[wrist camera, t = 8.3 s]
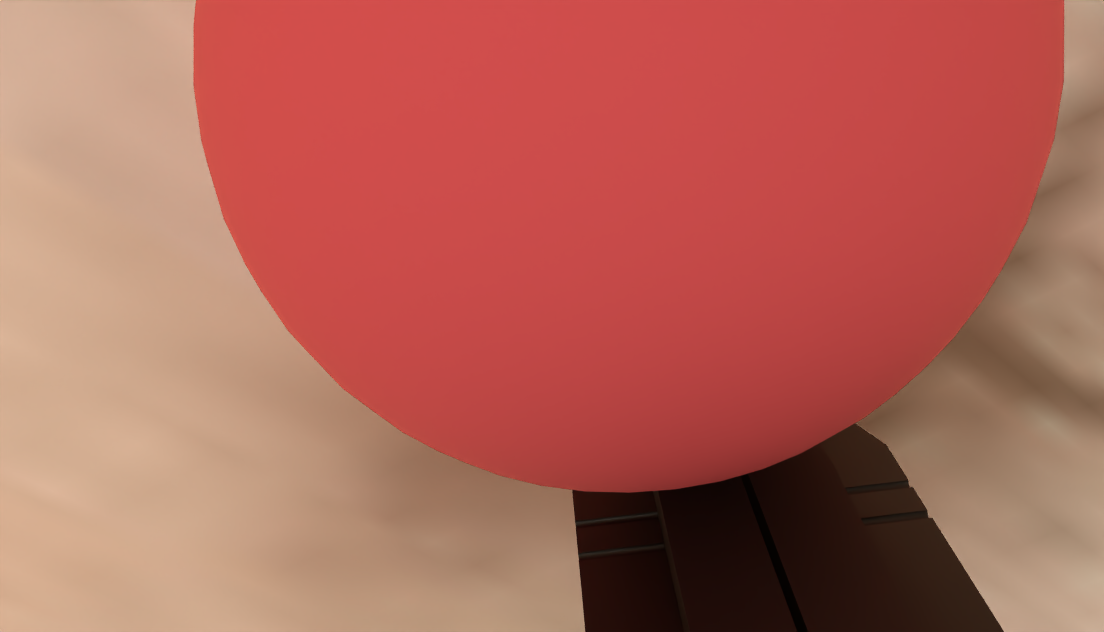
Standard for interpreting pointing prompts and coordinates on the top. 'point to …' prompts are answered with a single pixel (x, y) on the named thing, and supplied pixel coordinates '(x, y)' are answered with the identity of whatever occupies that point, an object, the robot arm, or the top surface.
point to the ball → (626, 210)
